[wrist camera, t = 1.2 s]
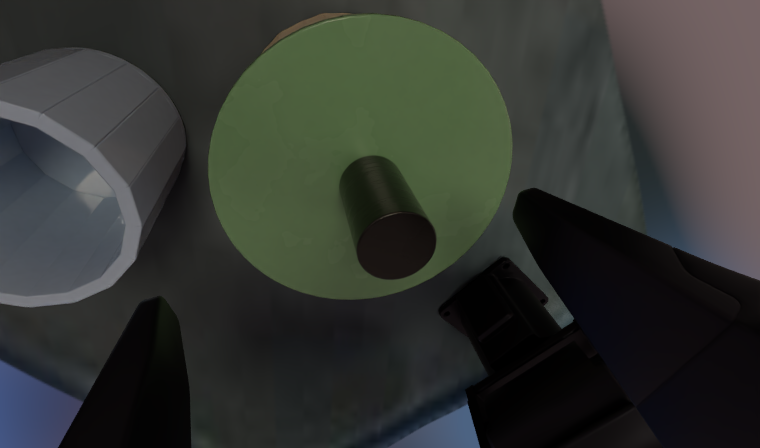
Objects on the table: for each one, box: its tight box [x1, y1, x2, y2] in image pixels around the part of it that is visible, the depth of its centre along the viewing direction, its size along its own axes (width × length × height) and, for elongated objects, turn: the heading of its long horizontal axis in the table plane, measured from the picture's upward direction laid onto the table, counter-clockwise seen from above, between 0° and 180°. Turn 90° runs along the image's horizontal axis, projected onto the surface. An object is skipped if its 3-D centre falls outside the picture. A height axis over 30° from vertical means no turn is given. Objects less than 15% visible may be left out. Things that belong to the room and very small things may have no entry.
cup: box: [0, 47, 186, 307], centre depth 16 cm, size 7×7×8 cm
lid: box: [208, 13, 512, 300], centre depth 14 cm, size 11×11×5 cm
